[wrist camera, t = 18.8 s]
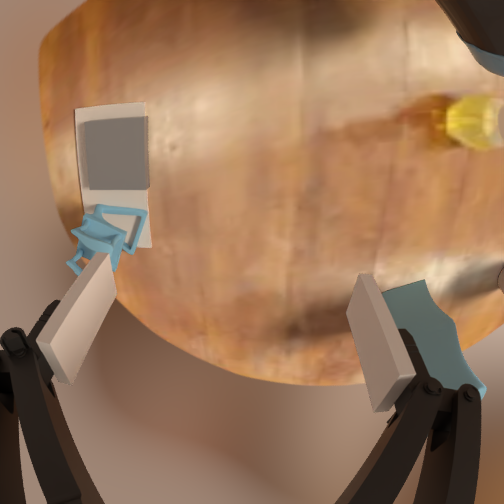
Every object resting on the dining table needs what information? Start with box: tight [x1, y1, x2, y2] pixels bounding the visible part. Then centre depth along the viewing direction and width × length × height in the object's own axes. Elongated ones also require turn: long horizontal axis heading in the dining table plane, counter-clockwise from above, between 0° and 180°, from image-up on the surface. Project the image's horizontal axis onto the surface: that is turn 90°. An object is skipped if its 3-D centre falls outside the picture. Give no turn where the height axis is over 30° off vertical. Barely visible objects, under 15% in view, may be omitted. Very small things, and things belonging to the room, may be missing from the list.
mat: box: [75, 102, 152, 248], centre depth 41 cm, size 22×11×1 cm, turn 176°
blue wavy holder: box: [382, 279, 487, 400], centre depth 42 cm, size 10×10×25 cm
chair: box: [66, 204, 148, 276], centre depth 39 cm, size 8×8×12 cm
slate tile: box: [84, 116, 150, 190], centre depth 38 cm, size 10×2×9 cm
